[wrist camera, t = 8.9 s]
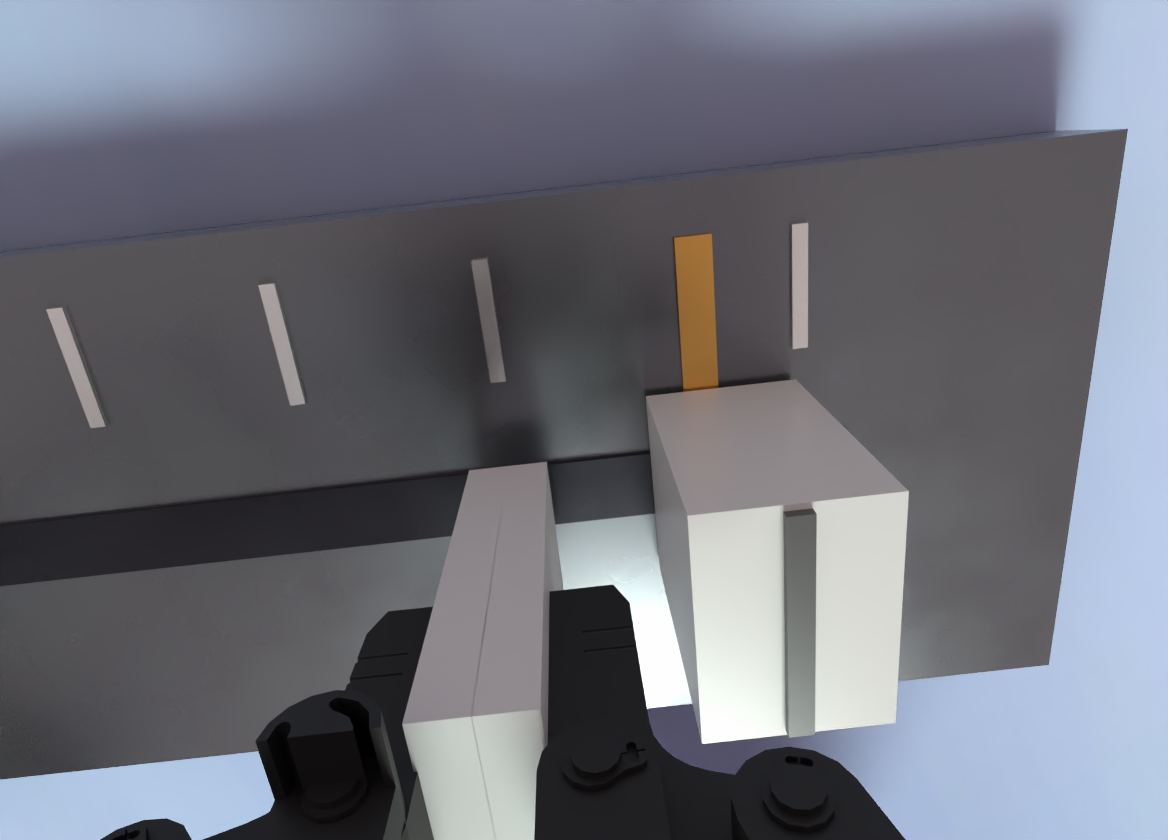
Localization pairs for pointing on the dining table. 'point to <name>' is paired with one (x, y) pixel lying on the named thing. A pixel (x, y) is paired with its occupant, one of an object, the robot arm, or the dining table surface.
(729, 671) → the block
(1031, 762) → the dining table surface
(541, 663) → the robot arm
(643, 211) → the console
